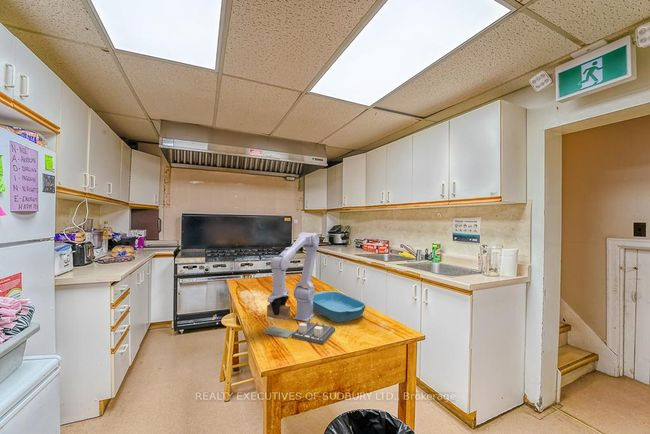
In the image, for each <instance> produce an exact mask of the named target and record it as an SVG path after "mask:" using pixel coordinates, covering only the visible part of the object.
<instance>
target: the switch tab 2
mask: <svg viewBox="0 0 650 434" xmlns="http://www.w3.org/2000/svg"><path fill="white" fill-rule="evenodd" d="M322 334H323V327H319V326H316V327H315V328H314V336H316V337H320V336H321V335H322Z"/></svg>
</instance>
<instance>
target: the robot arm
mask: <svg viewBox="0 0 650 434" xmlns="http://www.w3.org/2000/svg"><path fill="white" fill-rule="evenodd" d="M319 244H320V237H319V234H318V233H317V232H303V231H301V232H300V233H299V234H298V235H297V239H296V240H295V241H294V242H293V244H291V246H288V247H285V248H284V250H282V251H281V252H280V254H278V256H274V257H273V258H272V259H271V261H270V264H269V267H270V268H271V272H272V292H271V294H270V295H269V296H267V303H269V304H271V306H272V309H273V313H274V315H277V316H278V315H279V308H280V305H285V306H286V303H287V301H288V300H289V295H290V289H289V288H286V276H287V275H286V274H287V270H288V268H289V265H290V263H291V261H292V260H293V259H294V258H295V257H296V255H297V251H299V250H300V249H301V248H303V249H304V250H305V256H304V262H303V267H302V273H301V277H300V280H299V281H297V283H296V284H295V288H294V289H293V294H292V295H293V297H294V299H295V301H296V315H295V316H294V317H293V320H298V321H303V322H307V321H308V320H309V321H310V319H312V318H313V317H314V316H315V313H314V309H313V301H312V299H313V298H314V293H315V286H314V284H313V283H312V282H311V281H312V276H313V271H314V266H315V260H316V254H317V250H319Z"/></svg>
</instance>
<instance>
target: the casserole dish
mask: <svg viewBox="0 0 650 434" xmlns="http://www.w3.org/2000/svg"><path fill="white" fill-rule="evenodd" d="M312 301H313V311H315V312H317V313H318V314H321V315H323V316H324V317H325V318H327V319H329V320H331V321H333V322H336V323H345V322H349V321H354V320H357V319H359V318H360V317H362V315H363V314H364V312H365V309H366V306H367V304H366V302H364V301H362V300H359V299H357V298H354V297H352V296H350V295H348V294H345V293H344V292H343V293H342V292H340V291H335V290H334V291H333V290H331V291H318V292H314V298H313V299H312Z"/></svg>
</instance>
